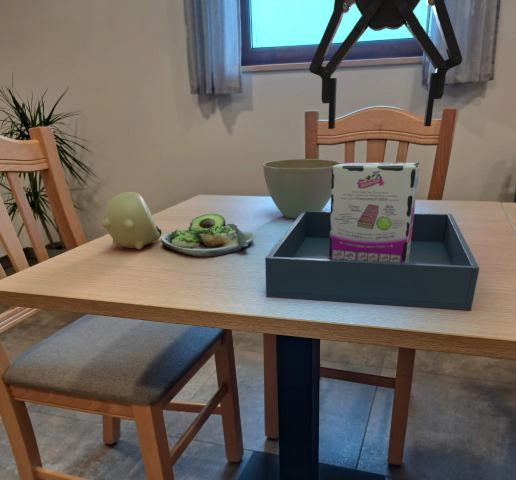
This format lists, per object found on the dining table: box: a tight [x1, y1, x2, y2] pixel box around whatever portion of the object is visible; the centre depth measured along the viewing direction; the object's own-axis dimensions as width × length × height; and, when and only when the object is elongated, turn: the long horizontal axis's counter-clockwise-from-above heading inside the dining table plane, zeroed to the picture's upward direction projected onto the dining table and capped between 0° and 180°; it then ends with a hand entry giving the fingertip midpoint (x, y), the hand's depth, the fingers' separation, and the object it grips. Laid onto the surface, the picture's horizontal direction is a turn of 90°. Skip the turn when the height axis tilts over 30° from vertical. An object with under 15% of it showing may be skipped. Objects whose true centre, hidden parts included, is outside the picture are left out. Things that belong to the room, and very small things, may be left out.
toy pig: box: [101, 191, 163, 250], centre depth 91 cm, size 10×12×11 cm
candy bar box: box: [329, 162, 420, 263], centre depth 66 cm, size 11×5×16 cm, turn 67°
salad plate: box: [160, 213, 255, 257], centre depth 91 cm, size 19×18×5 cm
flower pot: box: [262, 158, 341, 220], centre depth 111 cm, size 18×18×12 cm
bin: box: [264, 210, 480, 311], centre depth 76 cm, size 28×32×6 cm
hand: (378, 127), depth 68 cm, fingers open, 13 cm apart
